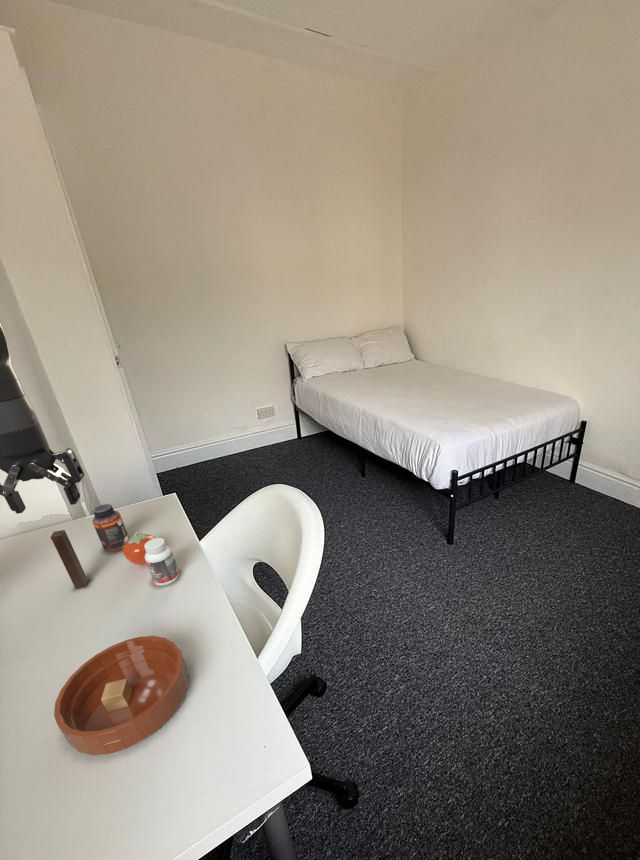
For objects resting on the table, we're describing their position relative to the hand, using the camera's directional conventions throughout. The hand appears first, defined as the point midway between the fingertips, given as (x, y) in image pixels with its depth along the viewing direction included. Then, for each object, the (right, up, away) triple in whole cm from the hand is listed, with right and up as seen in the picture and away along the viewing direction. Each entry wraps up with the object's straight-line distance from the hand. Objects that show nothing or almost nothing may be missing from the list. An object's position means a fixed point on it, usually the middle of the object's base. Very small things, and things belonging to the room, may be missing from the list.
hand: (48, 507), depth 77 cm
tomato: (+5, -15, +23) cm, 27 cm away
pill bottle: (+14, -17, +16) cm, 27 cm away
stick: (-5, -18, +15) cm, 24 cm away
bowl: (+22, -31, -10) cm, 39 cm away
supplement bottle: (-5, -12, +28) cm, 31 cm away
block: (+20, -30, -11) cm, 38 cm away
